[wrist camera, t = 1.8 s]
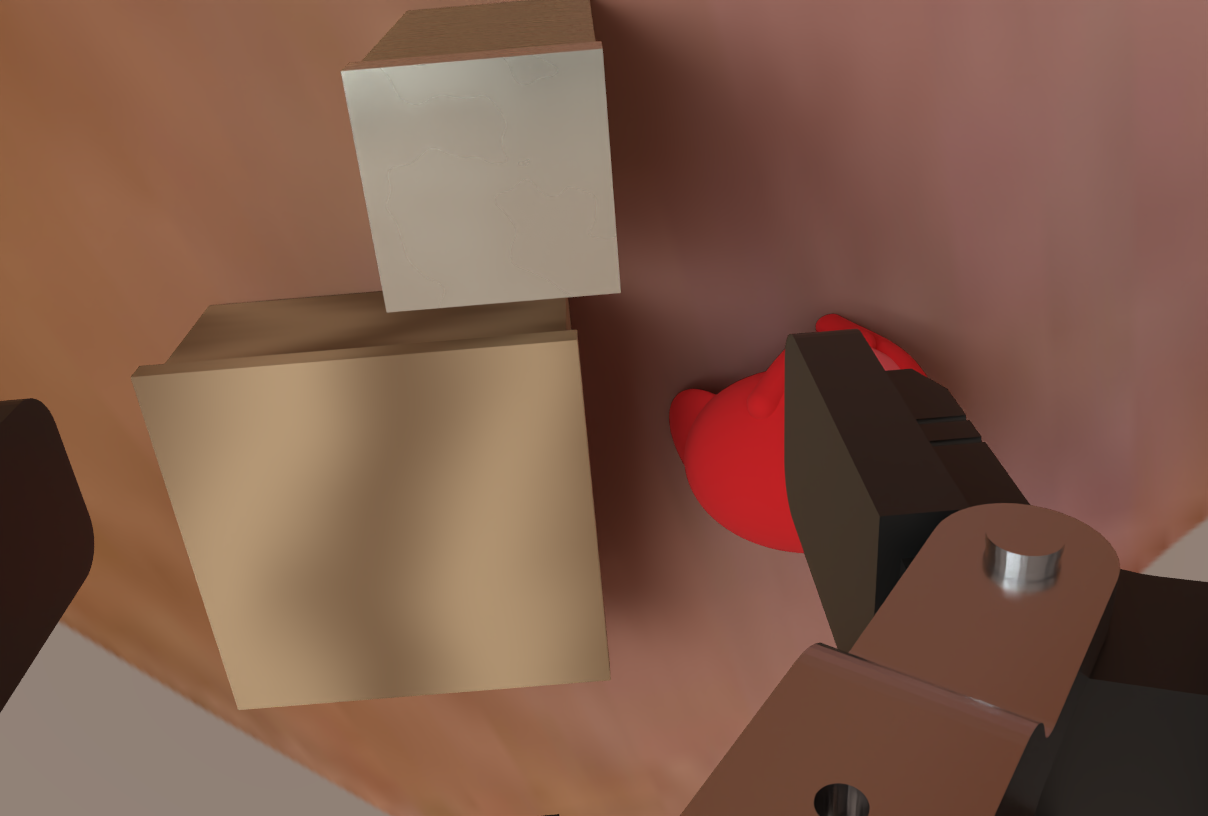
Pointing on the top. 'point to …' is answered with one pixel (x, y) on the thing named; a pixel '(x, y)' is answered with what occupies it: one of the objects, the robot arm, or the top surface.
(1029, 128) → the top surface
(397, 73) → the tea tin
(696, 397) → the cap
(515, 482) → the beige flat block
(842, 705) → the robot arm
